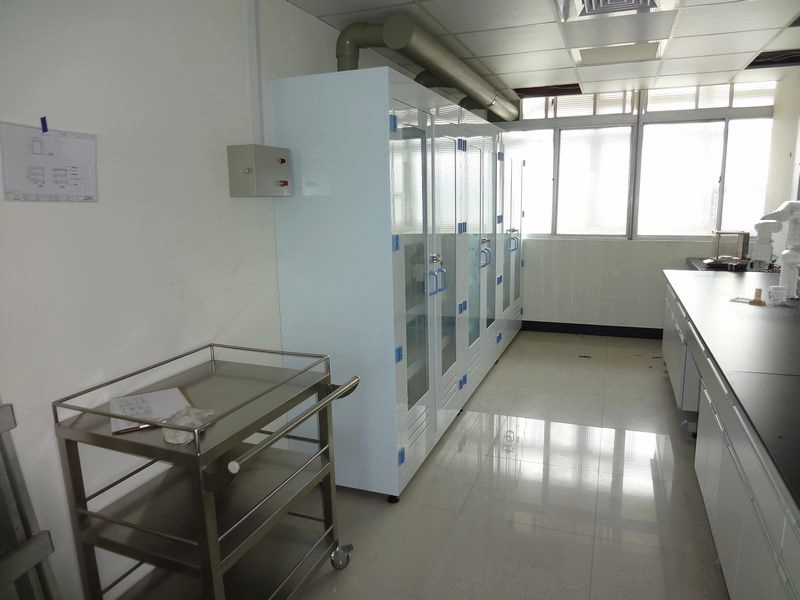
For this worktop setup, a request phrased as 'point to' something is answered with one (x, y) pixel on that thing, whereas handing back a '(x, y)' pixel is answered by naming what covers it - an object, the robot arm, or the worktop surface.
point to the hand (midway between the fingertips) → (760, 269)
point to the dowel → (758, 294)
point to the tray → (740, 300)
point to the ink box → (777, 295)
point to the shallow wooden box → (757, 302)
